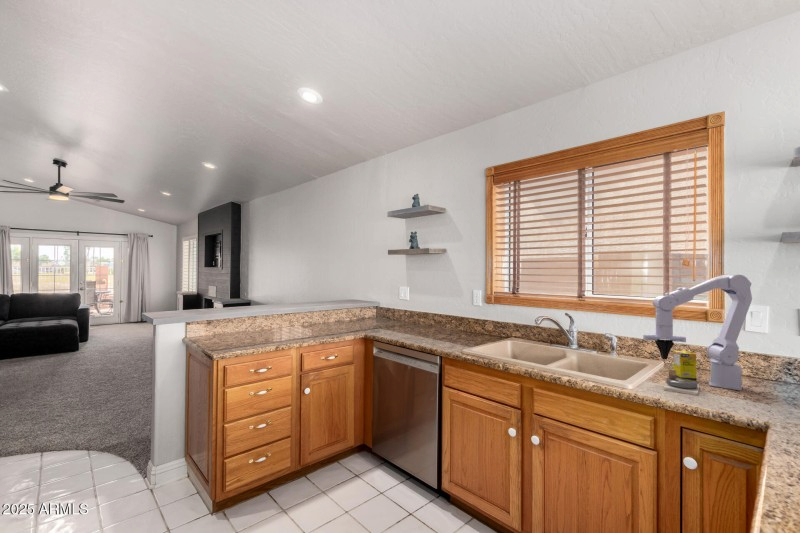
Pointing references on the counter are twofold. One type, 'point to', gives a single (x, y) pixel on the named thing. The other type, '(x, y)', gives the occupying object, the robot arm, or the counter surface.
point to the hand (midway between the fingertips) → (664, 358)
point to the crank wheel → (680, 381)
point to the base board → (681, 389)
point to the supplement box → (685, 364)
